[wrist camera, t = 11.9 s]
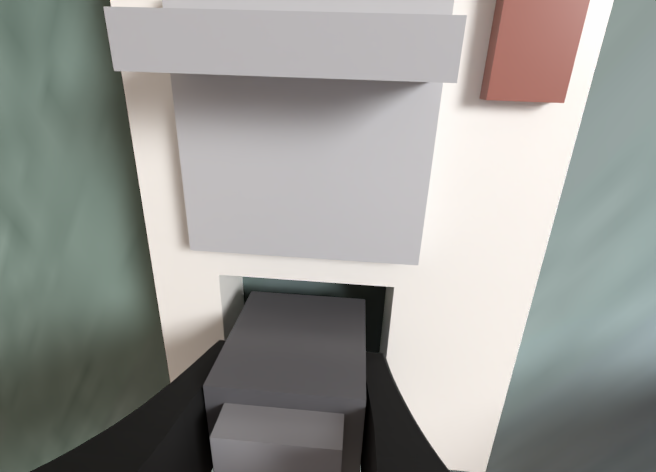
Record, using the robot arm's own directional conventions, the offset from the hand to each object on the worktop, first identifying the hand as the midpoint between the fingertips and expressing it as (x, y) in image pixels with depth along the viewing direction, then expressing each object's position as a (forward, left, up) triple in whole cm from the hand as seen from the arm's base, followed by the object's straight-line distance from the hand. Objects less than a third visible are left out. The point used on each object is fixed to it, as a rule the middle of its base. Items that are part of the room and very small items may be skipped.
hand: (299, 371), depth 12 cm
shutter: (0, -7, -1) cm, 7 cm away
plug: (0, 0, -2) cm, 2 cm away
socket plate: (-1, -3, -3) cm, 5 cm away
